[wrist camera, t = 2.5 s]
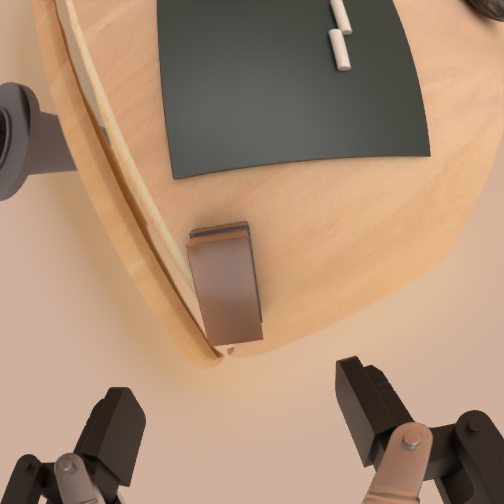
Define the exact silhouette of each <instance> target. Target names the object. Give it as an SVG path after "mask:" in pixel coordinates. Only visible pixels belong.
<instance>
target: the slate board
mask: <svg viewBox="0 0 504 504" xmlns="http://www.w3.org/2000/svg"><path fill="white" fill-rule="evenodd" d="M330 1H331V0H157V22H158V44H159V60H160V73H161V84H162V95H163V104H164V113H165V122H166V130H167V138H168V145H169V152H170V159H171V166H172V173H173V179H174V180H175V179H181V178H186V177H191V176H197V175H202V174H208V173H214V172H220V171H227V170H233V169H240V168H247V167H254V166H262V165H271V164H279V163H289V162H299V161H310V160H322V159H337V158H355V157H386V156H424V157H430V156H431V154H430V144H429V136H428V129H427V122H426V116H425V110H424V104H423V99H422V94H421V89H420V85H419V80H418V76H417V72H416V68H415V64H414V61H413V57H412V54H411V50H410V47H409V44H408V41H407V38H406V35H405V32H404V29H403V26H402V23H401V21H400V18H399V15H398V13H397V10H396V8H395V5H394V3H393V1H392V0H342V2H343V4H344V7H345V10H346V13H347V16H348V19H349V22H350V26H351V29H352V33H351V34H349V35H343V38H344V41H345V45H346V49H347V53H348V57H349V61H350V65H351V69H349V70H345V71H341V70H338V69H337V64H336V60H335V56H334V51H333V47H332V43H331V40H330V36H329V31H330V30H332V29H338V26H337V22H336V19H335V16H334V13H333V10H332V7H331V4H330Z"/></svg>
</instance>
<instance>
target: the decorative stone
mask: <svg viewBox="0 0 504 504" xmlns="http://www.w3.org/2000/svg"><path fill="white" fill-rule="evenodd" d="M469 1H470V3H471V4H472V5H473V6H474V7H475V8H476V9H477V10H478V11H479V12H481V13H482V14H484V15H485V16H487V17H489V18H491V19H494V20H497V21H501V22H504V0H469Z"/></svg>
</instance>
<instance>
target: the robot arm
mask: <svg viewBox="0 0 504 504" xmlns="http://www.w3.org/2000/svg"><path fill="white" fill-rule="evenodd" d="M11 137H12V123H11V118H10V115H9V113H8V111H7V110H6V109H4V108H1V107H0V169H1V167H2V166H3V164H4V162H5V160H6V157H7V155H8V151H9V148H10V143H11ZM335 386H336V387H335V390H336V397H337V400H338V404H339V406H340V408H341V411H342V413H343V416H344V418H345V420H346V423H347V425H348V428H349V430H350V433H351V435H352V438H353V440H354V443H355V445H356V448H357V450H358V453H359V455H360V458H361V460H362V463H363V466H364V467H367V466H370V465H373V466H374V468H375V471H376V474H375V476H374V478H373V480H372V483H371V485H370V487H369V489H368V492H367V494H366V496H365V498H364V500H363V502H362V504H419V502H420V500H419V498H418V495H419V492H420V488H421V485H422V482H423V481H427V480H431V479H434V481H435V484H436V486H437V488H438V491H439V493H440V495H441V498H442V500H443V503H444V504H504V439H503V437H502V435H501V434H500V432H499V431H498V430H497V428H496V427H495V425H494V424H493V422H492V421H491V419H490V418H489V417H488V416H487V415H486V414H485V413H484V412H481V411H478V410H473V411H468V412H466V413H464V414H462V415H461V416H460V417H459V419H458V421H457V422H456V423H455V424H450V425H446V426H441V427H435V428H428V427H427V426H425V425H424V424H421V423H416V422H415V421H414V420H413V419H412V417H411V416H410V414H409V412H408V411H407V409H406V408H405V406H404V404H403V403H402V401H401V400H400V398H399V397H398V395H397V394H396V392H395V391H394V390H393V387H392V386H391V384H390V383H389V382H388V380H387V378H386V377H385V375H384V374H383V372H382V371H381V370H379V369H377V368H376V367H374V366H373V365H369V366H366V367H363V365H362V364H361V362H360V360H359V359H358V357H357V356H353V357H349V358H345V359H342V360H338V361H337V362H336V381H335ZM145 425H146V418H145V414H144V412H143V410H142V408H141V407H140V405H139V403H138V402H137V400H136V398H135V397H134V395H133V393H132V391H131V390H130V389H129V388H127V387H111V388H109V390H108V392H107V394H106V396H105V398H104V399H101V400H100V401H99V402H98V403H97V404H96V405H95V407H94V408H93V410H92V412H91V414H90V418H88V420H87V422H86V425H85V427H84V429H83V431H82V433H81V436H80V438H79V440H78V442H77V445H76V447H75V449H74V451H73V453H66V454H63V455H62V456H60V457H59V458H58V459H57V461H56V462H54V463H41V462H40V461H39V460H38V459H37V458H36V457H35V456H34V455H31V454H27V455H24V456H22V457H21V458H20V459H19V460H18V461H17V463H16V466H15V468H14V470H13V472H12V475H11V477H10V480H9V482H8V485H7V487H6V490H5V493H4V496H3V498H2V501H1V504H38V502H39V499H40V496H41V495H42V496H43V497H45V498H46V499H47V502H46V504H126V503H125V501H124V500H123V498H122V496H121V494H120V493H119V491H117V490H118V486H119V485H121V486H126V487H129V486H130V483H131V479H132V474H133V470H134V466H135V462H136V458H137V455H138V451H139V447H140V443H141V440H142V436H143V432H144V429H145Z"/></svg>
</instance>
